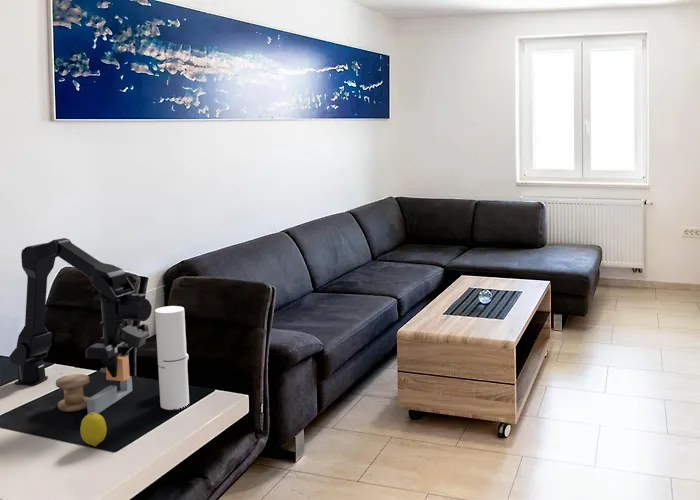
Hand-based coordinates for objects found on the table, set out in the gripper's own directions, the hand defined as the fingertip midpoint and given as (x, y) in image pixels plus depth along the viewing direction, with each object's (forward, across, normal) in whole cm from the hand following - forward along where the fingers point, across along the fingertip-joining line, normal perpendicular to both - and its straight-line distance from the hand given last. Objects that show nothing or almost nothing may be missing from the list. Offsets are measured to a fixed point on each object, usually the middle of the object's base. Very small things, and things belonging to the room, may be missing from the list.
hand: (117, 374), depth 196 cm
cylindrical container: (+6, -2, -17) cm, 18 cm away
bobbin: (+6, -8, +8) cm, 13 cm away
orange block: (+1, 0, +1) cm, 1 cm away
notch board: (+6, -4, 0) cm, 7 cm away
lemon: (+6, -29, -11) cm, 32 cm away
